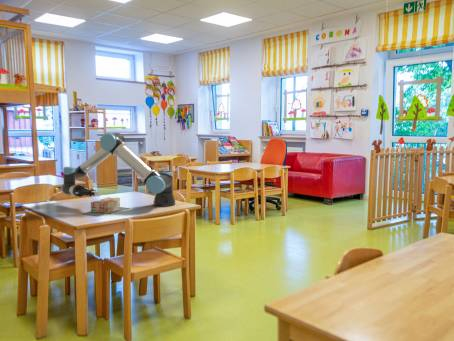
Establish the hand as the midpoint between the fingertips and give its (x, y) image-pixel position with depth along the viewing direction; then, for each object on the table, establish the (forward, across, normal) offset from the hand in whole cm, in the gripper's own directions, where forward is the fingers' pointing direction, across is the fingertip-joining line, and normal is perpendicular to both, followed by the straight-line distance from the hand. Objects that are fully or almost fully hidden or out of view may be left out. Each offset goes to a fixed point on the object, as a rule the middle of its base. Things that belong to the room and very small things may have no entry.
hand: (98, 194), depth 267 cm
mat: (+6, -2, -11) cm, 12 cm away
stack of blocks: (-2, -2, -7) cm, 8 cm away
